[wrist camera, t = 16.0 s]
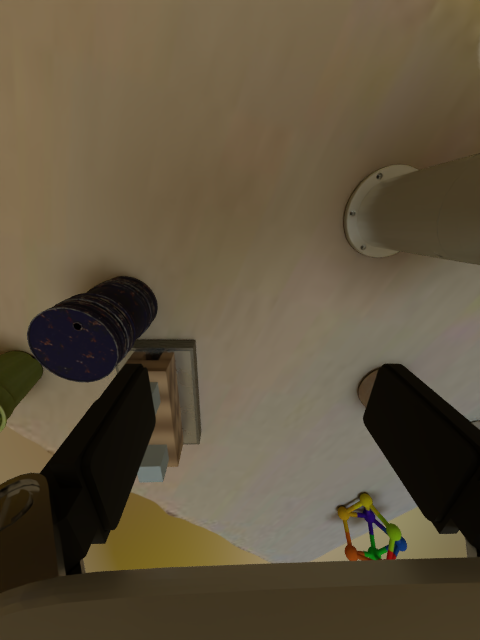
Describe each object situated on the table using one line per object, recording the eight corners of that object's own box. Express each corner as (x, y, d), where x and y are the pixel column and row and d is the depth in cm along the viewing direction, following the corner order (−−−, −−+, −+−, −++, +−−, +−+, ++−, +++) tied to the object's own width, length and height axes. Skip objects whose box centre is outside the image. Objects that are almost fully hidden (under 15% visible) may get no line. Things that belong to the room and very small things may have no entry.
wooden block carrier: (133, 352, 39) (119, 371, 34) (174, 352, 40) (165, 371, 35) (150, 441, 48) (140, 467, 43) (183, 440, 48) (177, 466, 43)
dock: (195, 339, 42) (192, 348, 39) (201, 432, 52) (199, 444, 49) (119, 339, 42) (110, 348, 39) (139, 433, 51) (133, 445, 48)
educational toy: (360, 518, 70) (387, 592, 57) (328, 507, 67) (348, 582, 54) (400, 497, 64) (441, 575, 50) (367, 483, 61) (401, 562, 48)
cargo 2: (166, 444, 41) (160, 466, 37) (169, 459, 42) (163, 481, 39) (144, 444, 41) (135, 466, 37) (147, 459, 42) (139, 482, 39)
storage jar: (150, 336, 42) (110, 393, 28) (95, 318, 40) (23, 368, 26) (164, 288, 38) (127, 325, 25) (105, 265, 36) (28, 292, 23)
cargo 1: (157, 382, 35) (149, 400, 32) (160, 402, 37) (152, 421, 33) (131, 382, 35) (119, 401, 31) (135, 402, 37) (125, 422, 33)
